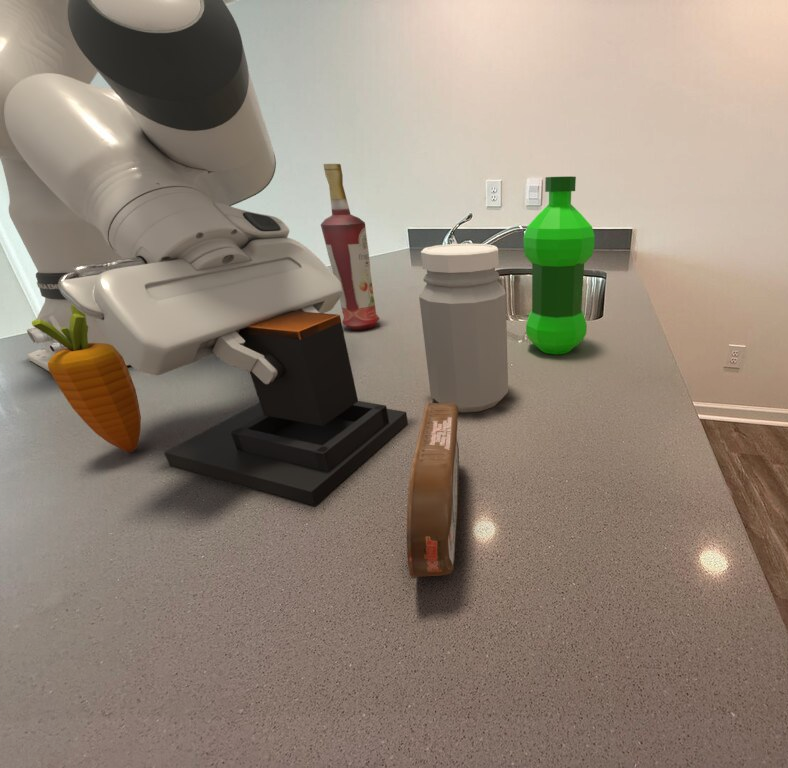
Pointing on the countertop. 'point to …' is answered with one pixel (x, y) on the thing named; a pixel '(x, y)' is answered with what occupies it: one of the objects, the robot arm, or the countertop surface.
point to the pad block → (304, 366)
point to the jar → (464, 325)
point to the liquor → (349, 255)
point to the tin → (434, 493)
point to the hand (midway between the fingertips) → (305, 363)
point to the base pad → (289, 450)
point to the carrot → (95, 382)
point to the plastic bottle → (558, 270)
